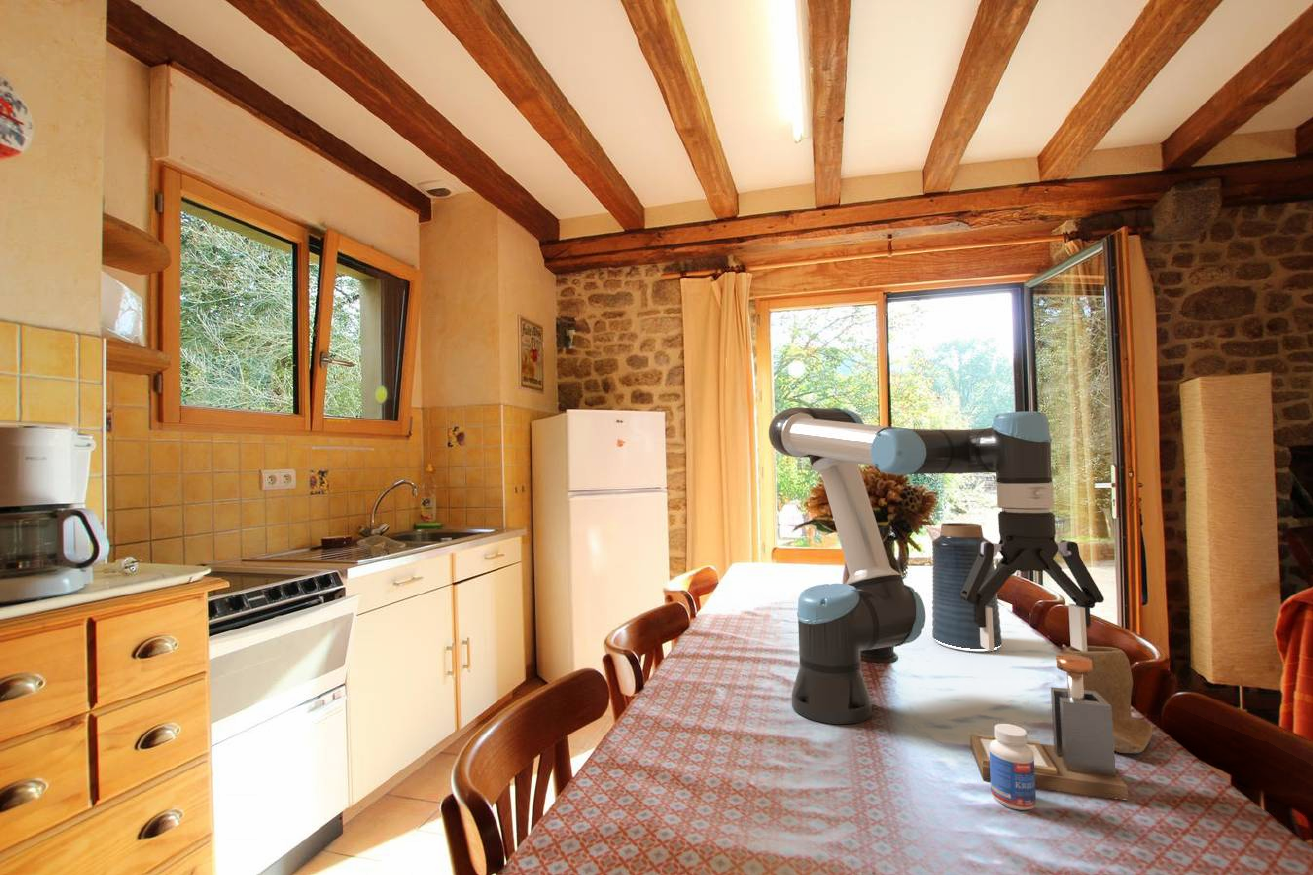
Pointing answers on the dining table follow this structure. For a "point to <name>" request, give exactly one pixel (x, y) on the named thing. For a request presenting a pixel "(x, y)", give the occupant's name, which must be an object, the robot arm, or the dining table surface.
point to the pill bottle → (1012, 768)
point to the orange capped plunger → (1074, 673)
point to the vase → (958, 587)
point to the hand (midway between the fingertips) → (1033, 648)
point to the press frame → (1083, 732)
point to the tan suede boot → (1115, 695)
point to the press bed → (1052, 771)
